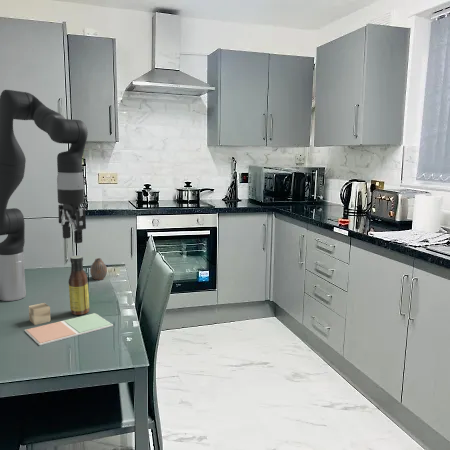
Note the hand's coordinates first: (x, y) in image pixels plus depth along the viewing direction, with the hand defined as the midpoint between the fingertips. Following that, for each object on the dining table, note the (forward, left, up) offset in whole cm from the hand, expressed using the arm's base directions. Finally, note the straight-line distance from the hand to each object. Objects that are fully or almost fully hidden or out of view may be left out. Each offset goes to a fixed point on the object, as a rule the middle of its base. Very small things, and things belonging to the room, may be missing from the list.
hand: (72, 240), depth 136 cm
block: (-12, -7, -28) cm, 31 cm away
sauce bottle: (-11, +6, -28) cm, 31 cm away
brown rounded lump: (-44, +29, -28) cm, 60 cm away
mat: (0, -2, -28) cm, 28 cm away
